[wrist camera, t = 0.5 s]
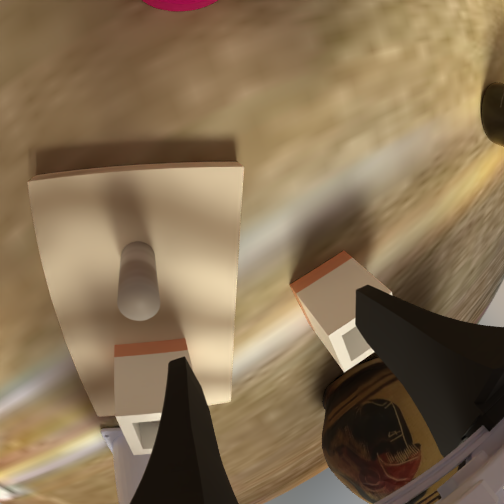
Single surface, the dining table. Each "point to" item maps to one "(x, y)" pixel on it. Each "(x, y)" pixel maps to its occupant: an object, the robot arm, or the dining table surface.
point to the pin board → (181, 268)
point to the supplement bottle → (494, 113)
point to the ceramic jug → (377, 435)
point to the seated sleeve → (143, 388)
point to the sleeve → (336, 306)
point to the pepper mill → (179, 4)
